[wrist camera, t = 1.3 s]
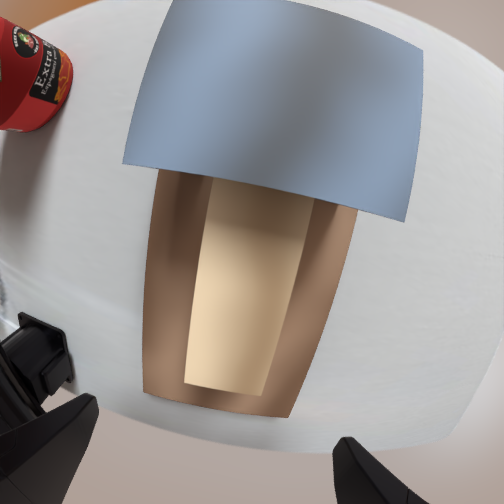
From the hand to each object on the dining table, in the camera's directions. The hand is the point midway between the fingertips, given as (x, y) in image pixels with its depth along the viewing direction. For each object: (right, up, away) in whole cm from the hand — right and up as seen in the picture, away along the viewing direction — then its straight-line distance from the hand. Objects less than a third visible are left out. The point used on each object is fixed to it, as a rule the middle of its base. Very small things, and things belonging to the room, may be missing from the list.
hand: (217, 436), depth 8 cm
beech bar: (+2, +9, +8) cm, 12 cm away
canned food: (-17, +20, +7) cm, 27 cm away
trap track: (+1, +9, +10) cm, 13 cm away
